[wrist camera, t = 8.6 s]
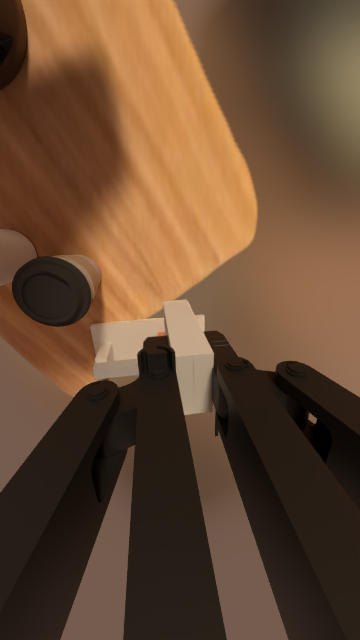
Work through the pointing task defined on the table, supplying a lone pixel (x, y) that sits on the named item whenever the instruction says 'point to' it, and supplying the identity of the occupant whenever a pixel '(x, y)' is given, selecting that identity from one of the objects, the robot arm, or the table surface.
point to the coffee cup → (56, 288)
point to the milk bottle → (13, 254)
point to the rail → (123, 345)
